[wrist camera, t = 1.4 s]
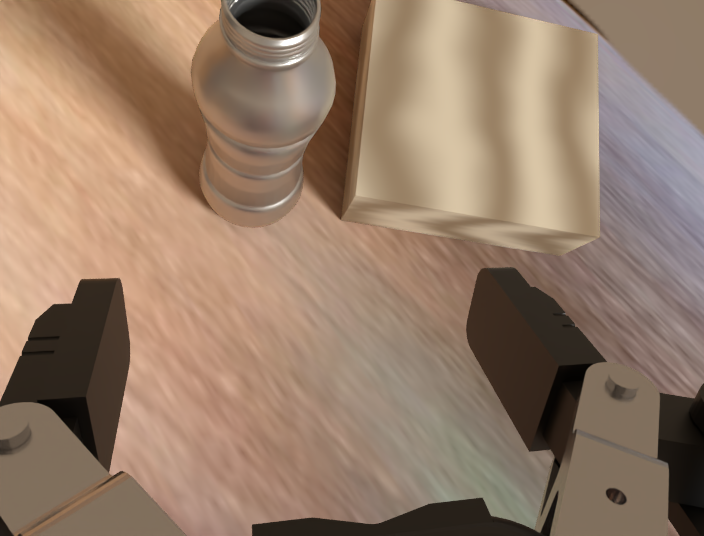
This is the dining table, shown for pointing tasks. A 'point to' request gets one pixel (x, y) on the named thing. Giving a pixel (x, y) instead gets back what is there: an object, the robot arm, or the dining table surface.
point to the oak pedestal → (475, 127)
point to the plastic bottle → (260, 105)
